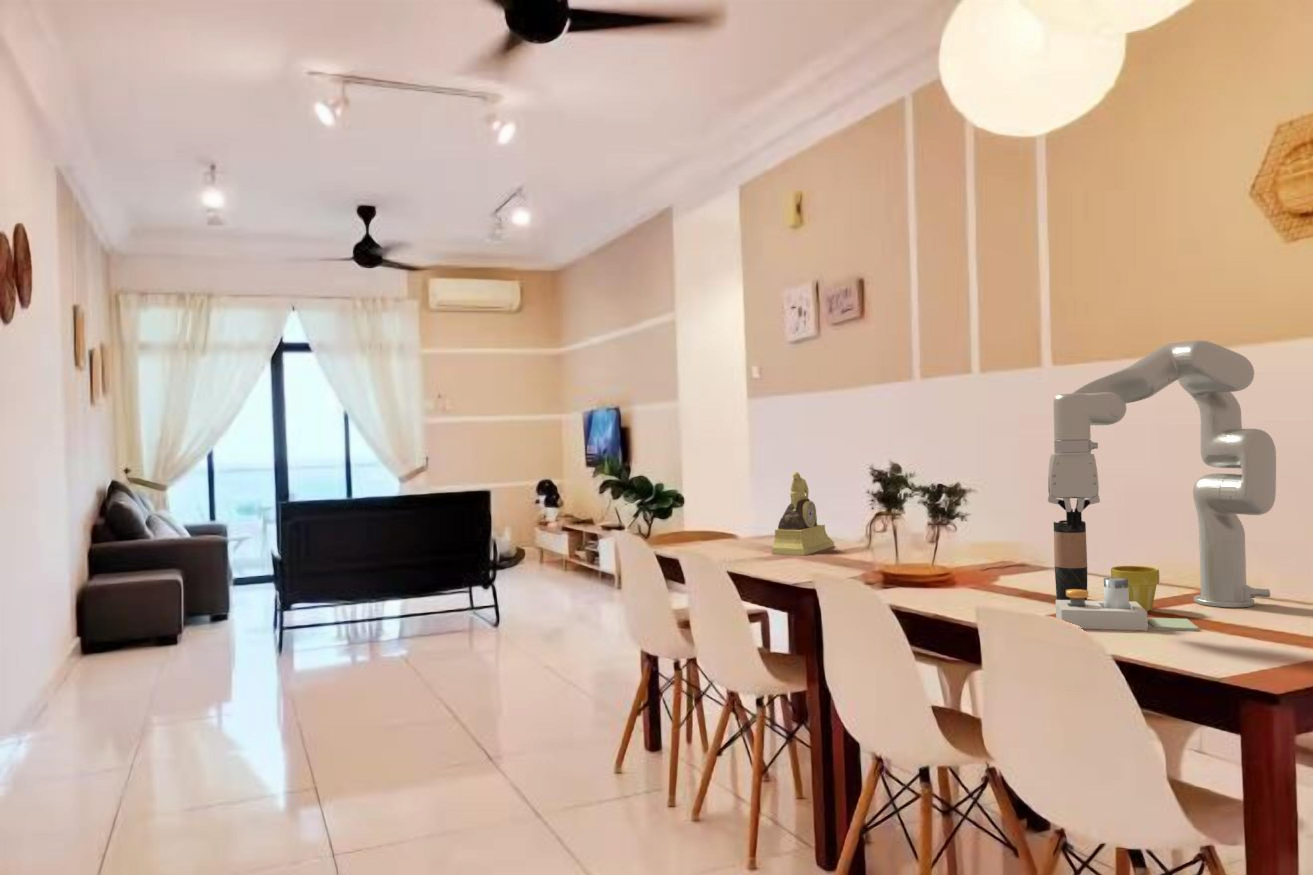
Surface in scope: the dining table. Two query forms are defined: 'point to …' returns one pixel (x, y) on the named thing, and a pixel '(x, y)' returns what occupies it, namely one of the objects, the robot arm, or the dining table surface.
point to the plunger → (1077, 597)
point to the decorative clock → (800, 525)
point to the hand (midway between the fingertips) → (1074, 529)
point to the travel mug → (1069, 558)
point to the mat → (1173, 624)
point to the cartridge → (1116, 593)
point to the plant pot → (1139, 583)
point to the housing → (1102, 616)
